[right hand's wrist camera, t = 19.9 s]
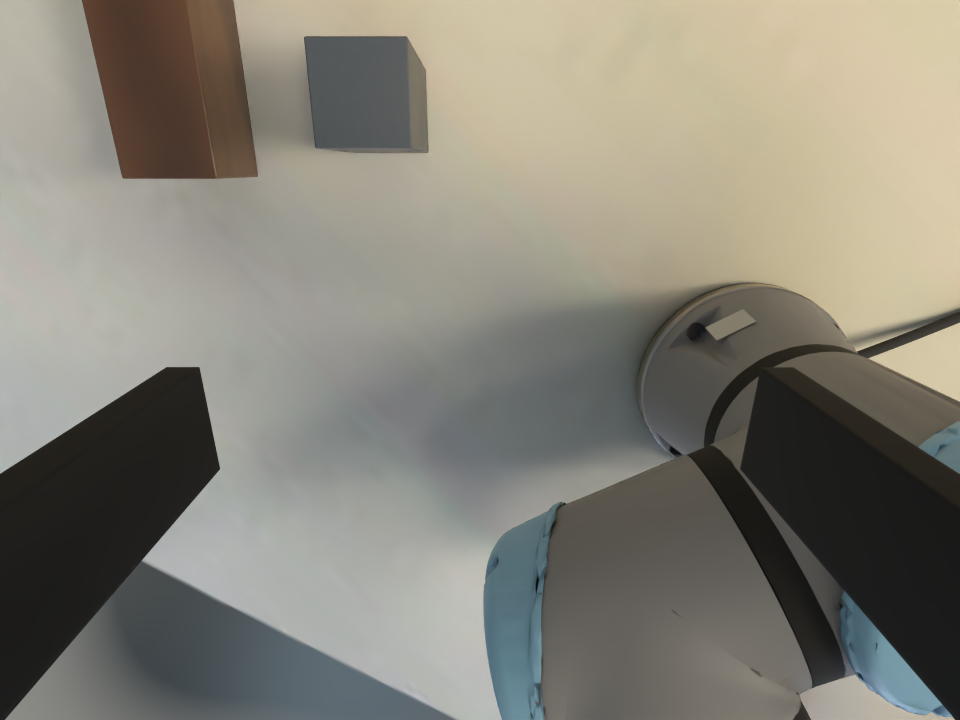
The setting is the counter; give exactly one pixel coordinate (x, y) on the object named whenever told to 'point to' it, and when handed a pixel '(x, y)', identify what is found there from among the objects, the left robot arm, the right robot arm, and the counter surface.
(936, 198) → the counter surface
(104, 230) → the counter surface
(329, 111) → the grey block
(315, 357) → the counter surface
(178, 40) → the walnut rail
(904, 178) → the counter surface
